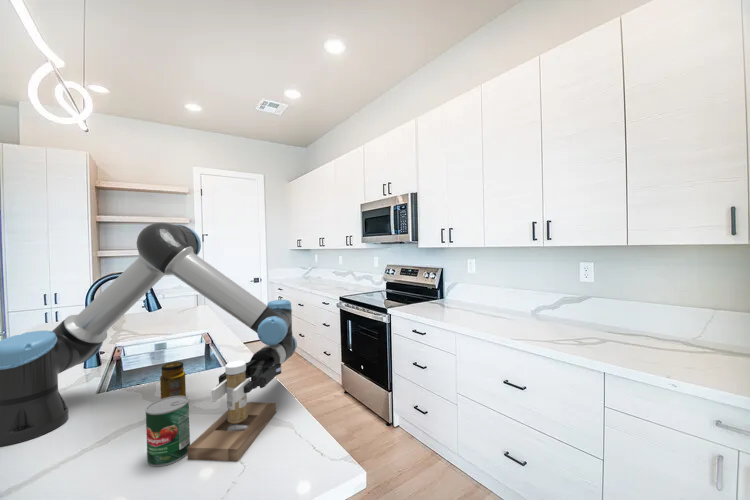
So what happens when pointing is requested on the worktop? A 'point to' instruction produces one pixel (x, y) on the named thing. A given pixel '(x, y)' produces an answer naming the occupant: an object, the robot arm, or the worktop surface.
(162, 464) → the canned tomato
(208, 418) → the worktop surface
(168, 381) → the condiment
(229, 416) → the sprinkles bottle
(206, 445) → the hole board
